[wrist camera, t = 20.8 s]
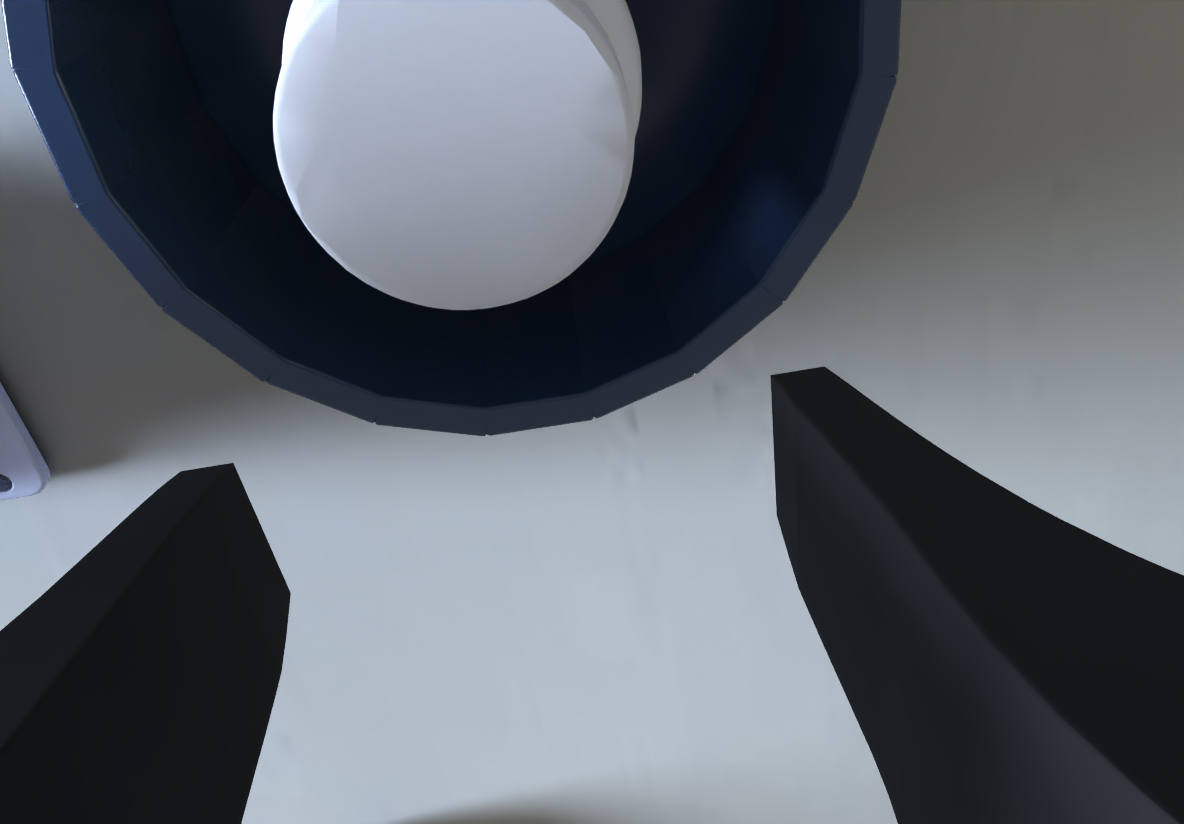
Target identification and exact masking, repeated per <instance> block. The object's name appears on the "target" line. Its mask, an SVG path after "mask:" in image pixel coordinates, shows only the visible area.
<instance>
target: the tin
mask: <svg viewBox="0 0 1184 824" xmlns="http://www.w3.org/2000/svg"><path fill="white" fill-rule="evenodd" d="M1 1H2V8H3V15H4V22H5V29H6V37H7V44H8V51H9V58H10V65H11V68H13V69H15V70H14V75H15V78H16V80H17V82H18V84H19V86H20V89H21V91H22V93H23V95H24V97H25V100H26V102H27V104H28V106H29V108H30V110H31V113H32V115H33V117H34V119H35V121H36V124H37V126H38V128H39V130H40V132H41V135H42V137H43V139H44V141H45V143H46V145H47V148H48V150H49V152H50V154H51V156H52V159H53V161H54V163H55V165H56V167H57V170H58V172H59V174H60V176H61V178H62V181H63V183H64V185H65V187H66V189H67V191H68V194H69V196H70V198H71V200H72V201H73V202H74V203H76V208H77V209H78V211H79V212H80V213H81V214H82V215H83V217H84V218H85V219H86V220H87V221H88V222H89V224H90V225H91V226H92V227H93V228H94V230H95V231H96V232H97V233H98V234H99V236H100V237H101V238H102V239H103V240H104V242H105V243H106V244H107V245H108V246H109V248H110V249H111V250H112V251H113V252H114V253H115V255H116V256H117V257H118V258H119V259H120V261H121V262H122V263H123V264H124V265H125V267H126V268H127V269H128V270H129V271H130V273H131V274H132V275H133V276H134V277H135V279H136V280H137V281H138V282H139V283H140V285H141V286H142V287H143V288H144V289H145V290H146V292H147V293H148V294H149V295H150V296H151V298H152V299H153V300H154V301H155V302H156V304H157V305H158V306H159V307H163V311H164V312H165V313H166V314H168V315H169V316H170V317H172V318H173V319H175V320H176V321H177V322H179V323H180V324H182V325H183V326H185V327H186V328H187V329H189V330H190V331H192V332H193V333H194V334H196V335H197V336H199V337H200V338H202V339H203V340H204V341H206V342H207V343H209V344H210V345H211V346H213V347H214V348H216V349H217V350H218V351H220V352H221V353H223V354H224V355H226V356H227V357H228V358H230V359H231V360H233V361H234V362H235V363H237V364H238V365H240V366H241V367H243V368H244V369H245V370H247V371H248V372H250V373H251V374H252V375H254V376H255V377H257V378H258V379H260V380H261V381H263V382H264V381H266V382H267V383H268V384H270V385H273V386H275V387H278V388H281V389H283V390H286V391H289V392H291V393H294V394H297V395H299V396H302V397H305V398H307V399H310V400H312V401H315V402H318V403H320V404H323V405H326V406H328V407H331V408H334V409H336V410H339V411H341V412H344V413H347V414H349V415H352V416H355V417H357V418H360V419H363V420H365V421H368V422H371V423H374V422H375V423H376V424H377V425H384V426H393V427H402V428H412V429H421V430H430V431H440V432H449V433H458V434H468V435H477V436H485V435H486V434H487V435H497V434H503V433H510V432H516V431H523V430H530V429H536V428H543V427H549V426H556V425H562V424H569V423H575V422H582V421H588V420H592V419H593V418H594V417H595V418H599V417H602V416H604V415H606V414H608V413H611V412H613V411H615V410H617V409H620V408H622V407H624V406H626V405H629V404H631V403H633V402H635V401H638V400H640V399H642V398H644V397H647V396H649V395H651V394H654V393H656V392H658V391H660V390H663V389H665V388H667V387H669V386H672V385H674V384H676V383H678V382H681V381H683V380H685V379H687V378H690V377H692V376H693V375H694V373H695V374H697V373H699V372H700V371H701V370H703V369H704V368H705V367H706V366H708V365H709V364H710V363H711V362H712V361H714V360H715V359H716V358H717V357H719V356H720V355H721V354H722V353H723V352H725V351H726V350H727V349H728V348H730V347H731V346H732V345H733V344H734V343H736V342H737V341H738V340H739V339H741V338H742V337H743V336H744V335H745V334H747V333H748V332H749V331H750V330H752V329H753V328H754V327H755V326H756V325H758V324H759V323H760V322H761V321H763V320H764V319H765V318H766V317H767V316H769V315H770V314H771V313H772V312H774V311H775V310H776V309H777V308H778V307H780V306H781V305H782V304H783V301H785V300H786V299H787V298H788V297H789V295H790V294H791V292H792V291H793V289H794V288H795V287H796V285H797V284H798V282H799V281H800V279H801V278H802V277H803V275H804V274H805V272H806V271H807V269H808V268H809V267H810V265H811V264H812V262H813V261H814V259H815V258H816V257H817V255H818V254H819V252H820V251H821V250H822V248H823V247H824V245H825V244H826V242H827V241H828V240H829V238H830V237H831V235H832V234H833V232H834V231H835V230H836V228H837V227H838V225H839V224H840V222H841V221H842V220H843V218H844V217H845V215H846V214H847V212H848V211H849V210H850V208H851V207H852V204H853V202H852V201H855V199H856V196H857V193H858V190H859V188H860V185H861V182H862V179H863V176H864V173H865V170H866V167H867V164H868V161H869V159H870V156H871V153H872V150H873V147H874V144H875V141H876V138H877V135H878V132H879V130H880V127H881V124H882V121H883V118H884V115H885V112H886V109H887V106H888V103H889V101H890V98H891V95H892V92H893V89H894V86H895V83H896V77H895V76H896V75H897V73H898V60H899V39H900V17H901V0H625V1H626V3H627V6H628V9H629V11H630V14H631V17H632V20H633V23H634V27H635V31H636V34H637V39H638V43H639V48H640V55H641V73H642V104H641V111H640V118H639V125H638V128H637V132H636V136H635V144H634V159H633V166H632V173H631V178H630V182H629V186H628V189H627V193H626V196H625V199H624V202H623V204H622V206H621V208H620V210H619V213H618V215H617V217H616V219H615V221H614V223H613V225H612V226H611V228H610V230H609V231H608V233H607V235H606V236H605V238H604V239H603V240H602V242H601V243H600V244H599V246H598V247H597V248H596V249H595V251H594V252H593V253H592V254H591V255H590V257H588V258H587V259H586V260H585V261H584V262H583V263H582V264H581V265H580V266H579V267H578V268H577V269H576V270H574V271H573V272H572V273H571V274H570V275H569V276H567V277H566V278H564V279H563V280H562V281H560V282H559V283H557V284H555V285H554V286H552V287H550V288H548V289H546V290H544V291H542V292H540V293H538V294H536V295H534V296H531V297H529V298H527V299H523V300H520V301H517V302H514V303H510V304H506V305H502V306H497V307H492V308H486V309H474V310H449V309H440V308H432V307H427V306H423V305H418V304H415V303H411V302H408V301H404V300H401V299H398V298H396V297H393V296H391V295H388V294H386V293H384V292H382V291H380V290H378V289H376V288H374V287H372V286H370V285H368V284H366V283H365V282H363V281H362V280H360V279H359V278H357V277H356V276H355V275H353V274H352V273H350V272H349V271H347V270H346V269H345V268H344V267H343V266H342V265H340V264H339V263H338V262H337V261H336V260H335V259H334V258H333V257H331V256H330V255H329V254H328V253H327V252H326V251H325V249H324V248H323V247H322V246H321V245H320V244H319V243H318V242H317V240H316V239H315V238H314V237H313V235H312V234H311V233H310V232H309V230H308V229H307V228H306V226H305V225H304V223H303V222H302V220H301V218H300V217H299V215H298V213H297V211H296V210H295V208H294V206H293V204H292V202H291V200H290V197H289V195H288V193H287V190H286V188H285V185H284V182H283V179H282V176H281V173H280V170H279V167H278V162H277V156H276V151H275V145H274V135H273V111H274V101H275V92H276V87H277V83H278V79H279V75H280V71H281V68H282V54H283V39H284V34H285V28H286V23H287V19H288V15H289V11H290V7H291V5H292V2H293V0H1Z"/></svg>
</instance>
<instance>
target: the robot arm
mask: <svg viewBox="0 0 1184 824" xmlns="http://www.w3.org/2000/svg"><path fill="white" fill-rule="evenodd" d="M771 392H772V415H773V438H774V461H775V484H776V507H777V517H778V521H779V524H780V527H781V531H782V534H783V538H784V541H785V545H786V548H787V551H788V555H789V558H790V561H791V565H792V568H793V571H794V574H795V578H796V581H797V584H798V587H799V590H800V592H801V595H802V597H803V599H804V602H805V604H806V606H807V609H808V611H809V613H810V615H811V618H812V620H813V622H814V624H815V627H816V629H817V631H818V634H819V636H820V638H821V640H822V643H823V645H824V647H825V649H826V652H827V654H828V656H829V658H830V661H831V663H832V665H833V667H834V669H835V672H836V674H837V676H838V678H839V681H840V683H841V685H842V687H843V690H844V692H845V694H846V696H847V698H848V701H849V703H850V705H851V707H852V710H853V712H854V714H855V716H856V719H857V721H858V723H859V725H860V728H861V730H862V732H863V734H864V736H865V739H866V741H867V743H868V745H869V748H870V750H871V752H872V754H873V757H874V759H875V762H876V764H877V767H878V769H879V772H880V775H881V777H882V780H883V782H884V785H885V787H886V790H887V792H888V795H889V798H890V801H891V804H892V807H893V810H894V813H895V816H896V819H897V822H898V824H1184V576H1183V575H1181V574H1178V573H1176V572H1173V571H1171V570H1168V569H1166V568H1164V567H1161V566H1159V565H1157V564H1154V563H1152V562H1150V561H1148V560H1145V559H1143V558H1141V557H1138V556H1136V555H1134V554H1132V553H1129V552H1127V551H1125V550H1123V549H1121V548H1119V547H1117V546H1114V545H1112V544H1110V543H1108V542H1106V541H1104V540H1102V539H1100V538H1098V537H1096V536H1094V535H1092V534H1090V533H1088V532H1086V531H1084V530H1082V529H1080V528H1077V527H1075V526H1073V525H1071V524H1069V523H1067V522H1065V521H1063V520H1061V519H1059V518H1057V517H1055V516H1053V515H1052V514H1050V513H1048V512H1046V511H1044V510H1042V509H1040V508H1038V507H1037V506H1035V505H1033V504H1031V503H1029V502H1027V501H1026V500H1024V499H1022V498H1021V497H1019V496H1017V495H1015V494H1014V493H1012V492H1010V491H1009V490H1007V489H1005V488H1003V487H1002V486H1000V485H998V484H997V483H995V482H993V481H991V480H990V479H988V478H986V477H985V476H983V475H981V474H979V473H978V472H976V471H975V470H973V469H971V468H970V467H968V466H967V465H965V464H963V463H962V462H960V461H959V460H957V459H956V458H954V457H952V456H951V455H949V454H948V453H946V452H945V451H943V450H942V449H940V448H939V447H937V446H936V445H934V444H933V443H931V442H930V441H928V440H927V439H925V438H924V437H922V436H921V435H919V434H918V433H916V432H915V431H913V430H912V429H911V428H909V427H908V426H906V425H905V424H903V423H902V422H901V421H899V420H898V419H896V418H895V417H894V416H892V415H891V414H889V413H888V412H887V411H885V410H884V409H882V408H881V407H880V406H878V405H877V404H875V403H874V402H873V401H871V400H870V399H869V398H867V397H866V396H864V395H863V394H862V393H860V392H859V391H858V390H856V389H855V388H854V387H852V386H851V385H850V384H848V383H847V382H845V381H844V380H843V379H841V378H840V377H839V376H837V375H836V374H834V373H833V372H832V371H830V370H829V369H827V368H826V367H819V368H813V369H806V370H800V371H794V372H788V373H782V374H776V375H771ZM0 474H2V475H4V476H6V477H8V478H9V479H10V480H11V481H12V482H8V481H5V480H2V479H1V478H0V500H4V499H10V498H17V497H23V496H30V495H34V494H37V493H39V492H41V491H42V490H43V489H44V487H45V486H46V484H47V483H48V481H49V479H50V475H51V474H50V471H49V468H48V466H47V464H46V462H45V460H44V459H43V457H42V455H41V453H40V452H39V450H38V448H37V446H36V444H35V443H34V441H33V439H32V437H31V436H30V434H29V432H28V430H27V429H26V427H25V425H24V423H23V421H22V420H21V418H20V416H19V414H18V413H17V411H16V409H15V407H14V405H13V404H12V402H11V400H10V398H9V397H8V395H7V393H6V391H5V389H4V388H3V386H2V384H1V382H0ZM290 594H291V593H290V591H289V588H288V586H287V584H286V582H285V579H284V577H283V575H282V573H281V570H280V568H279V566H278V564H277V561H276V559H275V557H274V554H273V552H272V550H271V548H270V545H269V543H268V541H267V539H266V536H265V534H264V532H263V530H262V527H261V525H260V523H259V520H258V518H257V516H256V514H255V511H254V509H253V507H252V505H251V502H250V500H249V498H248V495H247V493H246V491H245V489H244V486H243V484H242V482H241V480H240V477H239V475H238V473H237V471H236V468H235V466H234V464H233V463H230V464H224V465H217V466H211V467H205V468H199V469H193V470H187V471H181V472H180V473H178V474H177V475H176V476H174V477H173V478H172V479H170V480H169V481H168V482H167V483H165V484H164V485H163V486H162V487H160V488H159V489H158V490H157V491H156V492H155V493H154V494H152V495H151V496H150V497H149V498H148V499H147V500H146V501H144V502H143V503H142V504H141V505H140V506H139V507H138V508H137V509H136V510H134V511H133V512H132V513H131V514H130V515H129V516H128V517H127V518H126V519H125V520H124V521H122V522H121V523H120V524H119V525H118V526H117V527H116V528H115V529H114V530H113V531H112V532H111V533H110V534H108V535H107V536H106V537H105V538H104V539H103V540H102V541H101V542H100V543H99V544H98V545H97V546H95V547H94V548H93V549H92V550H91V551H90V552H89V553H88V554H87V555H86V556H85V557H83V558H82V559H81V560H80V561H79V562H78V563H77V564H76V565H75V566H74V567H73V568H71V569H70V570H69V571H68V572H67V573H66V574H65V575H64V576H63V577H62V578H61V579H59V580H58V581H57V582H56V583H55V584H54V585H53V586H52V587H51V588H50V589H49V590H47V591H46V592H45V593H44V594H43V595H42V596H41V597H40V598H38V599H37V600H36V601H35V602H34V603H33V604H31V605H30V606H29V607H28V608H27V609H26V610H24V611H23V612H22V613H21V614H20V615H19V616H17V617H16V618H15V619H14V620H13V621H12V622H10V623H9V624H8V625H7V626H6V627H5V628H3V629H2V630H1V631H0V824H241V822H242V818H243V815H244V811H245V807H246V804H247V800H248V796H249V793H250V789H251V785H252V781H253V778H254V774H255V770H256V767H257V763H258V759H259V756H260V752H261V748H262V745H263V741H264V737H265V734H266V730H267V726H268V722H269V718H270V715H271V711H272V707H273V703H274V699H275V695H276V692H277V687H278V683H279V679H280V675H281V671H282V664H283V656H284V649H285V642H286V634H287V624H288V614H289V604H290Z"/></svg>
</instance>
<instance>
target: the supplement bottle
mask: <svg viewBox="0 0 1184 824" xmlns="http://www.w3.org/2000/svg"><path fill="white" fill-rule="evenodd" d="M641 104H642V73H641V55H640V48H639V43H638V39H637V34H636V31H635V27H634V23H633V20H632V17H631V14H630V11H629V9H628V6H627V3H626V1H625V0H293V2H292V5H291V7H290V11H289V15H288V19H287V23H286V28H285V34H284V39H283V54H282V68H281V71H280V75H279V79H278V83H277V87H276V92H275V101H274V111H273V135H274V145H275V151H276V156H277V162H278V167H279V170H280V173H281V176H282V179H283V182H284V185H285V188H286V190H287V193H288V195H289V197H290V200H291V202H292V204H293V206H294V208H295V210H296V211H297V213H298V215H299V217H300V218H301V220H302V222H303V223H304V225H305V226H306V228H307V229H308V230H309V232H310V233H311V234H312V235H313V237H314V238H315V239H316V240H317V242H318V243H319V244H320V245H321V246H322V247H323V248H324V249H325V251H326V252H327V253H328V254H329V255H330V256H331V257H333V258H334V259H335V260H336V261H337V262H338V263H339V264H340V265H342V266H343V267H344V268H345V269H346V270H347V271H349V272H350V273H352V274H353V275H355V276H356V277H357V278H359V279H360V280H362V281H363V282H365V283H366V284H368V285H370V286H372V287H374V288H376V289H378V290H380V291H382V292H384V293H386V294H388V295H391V296H393V297H396V298H398V299H401V300H404V301H408V302H411V303H415V304H418V305H423V306H427V307H432V308H440V309H449V310H474V309H486V308H492V307H497V306H502V305H506V304H510V303H514V302H517V301H520V300H523V299H527V298H529V297H531V296H534V295H536V294H538V293H540V292H542V291H544V290H546V289H548V288H550V287H552V286H554V285H555V284H557V283H559V282H560V281H562V280H563V279H564V278H566V277H567V276H569V275H570V274H571V273H572V272H573V271H574V270H576V269H577V268H578V267H579V266H580V265H581V264H582V263H583V262H584V261H585V260H586V259H587V258H588V257H590V255H591V254H592V253H593V252H594V251H595V249H596V248H597V247H598V246H599V244H600V243H601V242H602V240H603V239H604V238H605V236H606V235H607V233H608V231H609V230H610V228H611V226H612V225H613V223H614V221H615V219H616V217H617V215H618V213H619V210H620V208H621V206H622V204H623V202H624V199H625V196H626V193H627V189H628V186H629V182H630V178H631V173H632V166H633V159H634V144H635V136H636V132H637V128H638V125H639V118H640V111H641Z"/></svg>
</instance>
